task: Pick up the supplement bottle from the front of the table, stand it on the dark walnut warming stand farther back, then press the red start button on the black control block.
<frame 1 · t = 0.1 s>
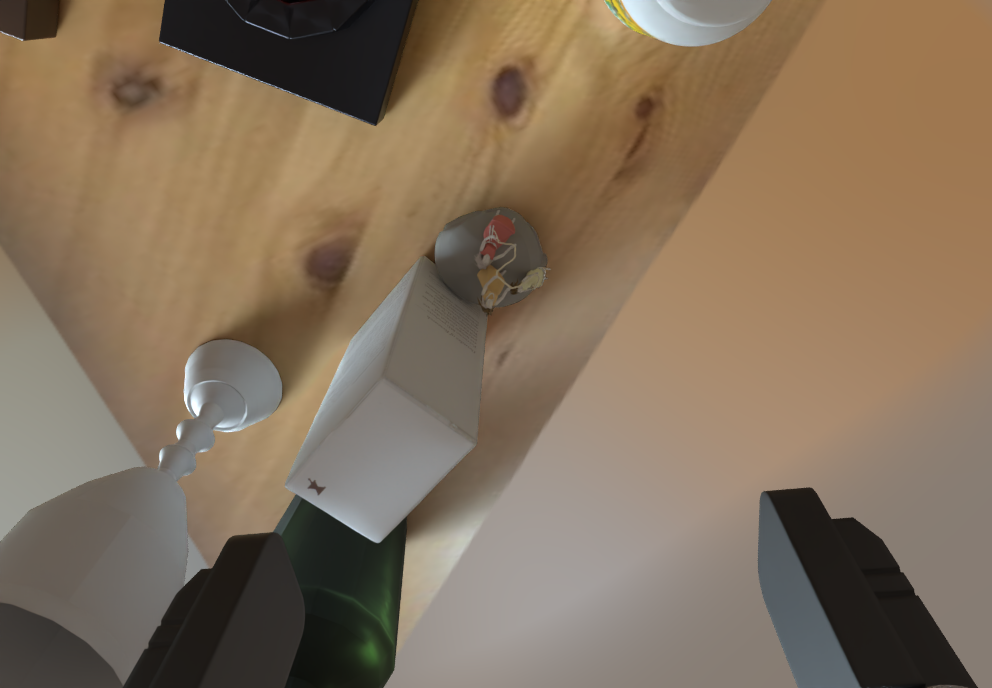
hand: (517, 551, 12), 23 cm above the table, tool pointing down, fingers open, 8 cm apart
potion bottle: (351, 511, 41), on the table
chalice: (235, 381, 37), on the table
cosmetic box: (422, 319, 35), on the table
figurine: (495, 243, 33), on the table
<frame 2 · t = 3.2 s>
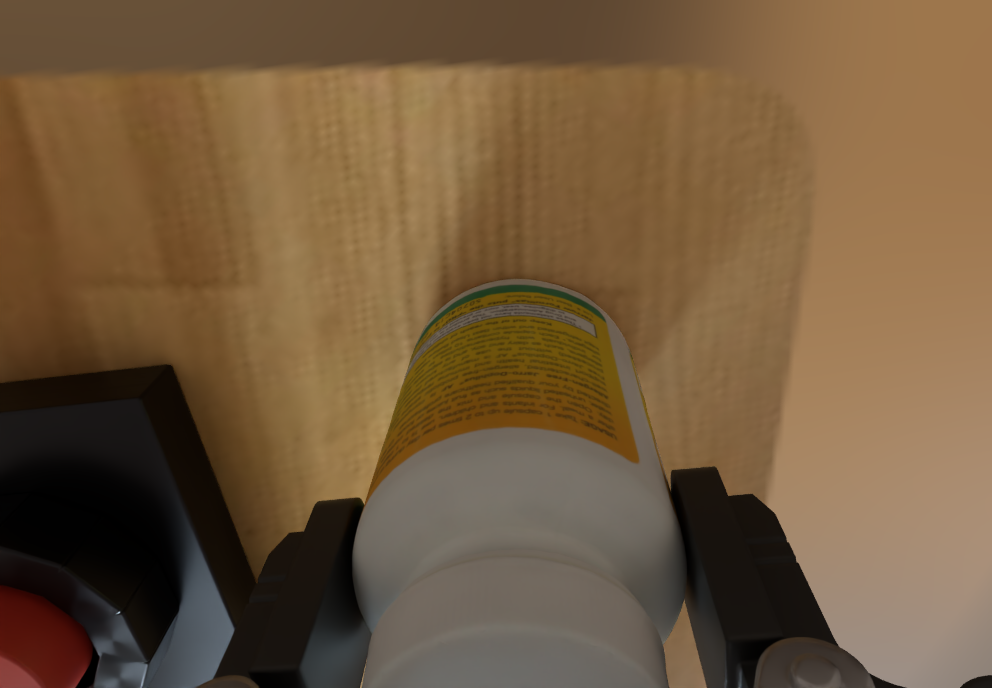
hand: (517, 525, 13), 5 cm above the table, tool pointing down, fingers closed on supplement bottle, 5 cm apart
supplement bottle: (520, 369, 18), on the table, touching gripper
button housing: (88, 546, 20), on the table
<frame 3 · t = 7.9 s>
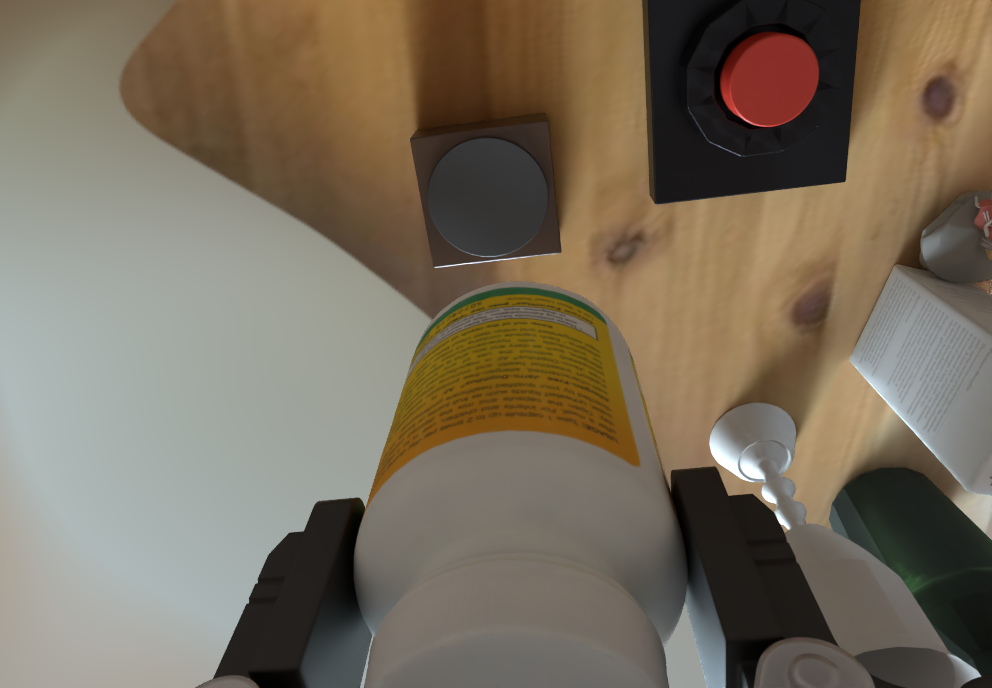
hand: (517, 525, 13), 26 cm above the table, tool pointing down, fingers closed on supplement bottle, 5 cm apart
potion bottle: (879, 504, 45), on the table
supplement bottle: (520, 371, 18), point 21 cm above the table, touching gripper
chalice: (751, 436, 43), on the table
start button: (767, 79, 30), point 4 cm above the table, slide at 0.1 cm
cosmetic box: (904, 317, 39), on the table
button housing: (742, 69, 33), on the table
figurine: (956, 224, 37), on the table
stand: (489, 186, 36), on the table
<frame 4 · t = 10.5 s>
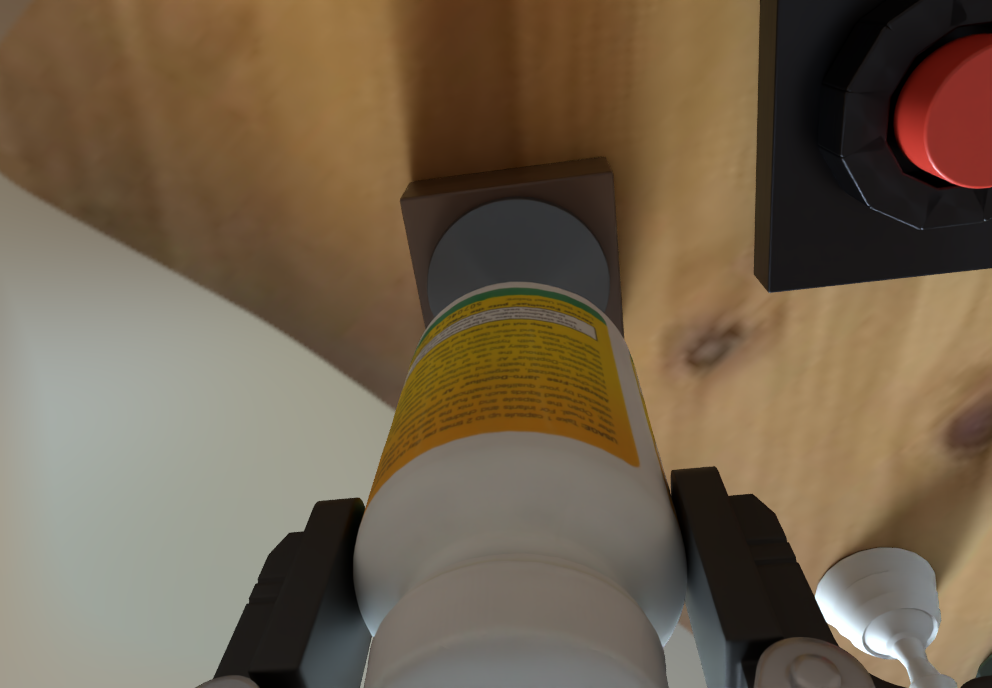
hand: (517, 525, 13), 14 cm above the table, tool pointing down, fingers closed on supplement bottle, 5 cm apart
supplement bottle: (520, 371, 18), point 8 cm above the table, touching gripper
chalice: (873, 588, 31), on the table
start button: (980, 111, 18), point 4 cm above the table, slide at 0.1 cm
button housing: (906, 91, 22), on the table
stand: (518, 261, 25), on the table
when the fingers open (8 cm above the table, at t = 12.4 s): supplement bottle stays where it is, resting on stand.
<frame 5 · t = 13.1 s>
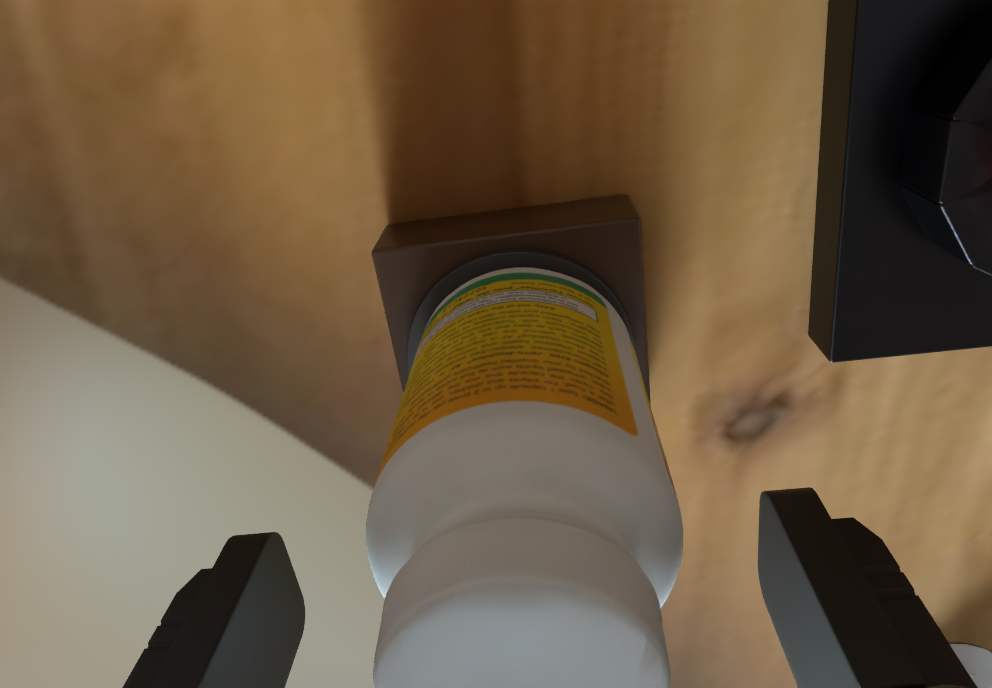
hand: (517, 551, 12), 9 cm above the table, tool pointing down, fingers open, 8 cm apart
supplement bottle: (524, 355, 18), point 2 cm above the table, touching stand
chalice: (934, 686, 27), on the table
stand: (520, 319, 20), on the table
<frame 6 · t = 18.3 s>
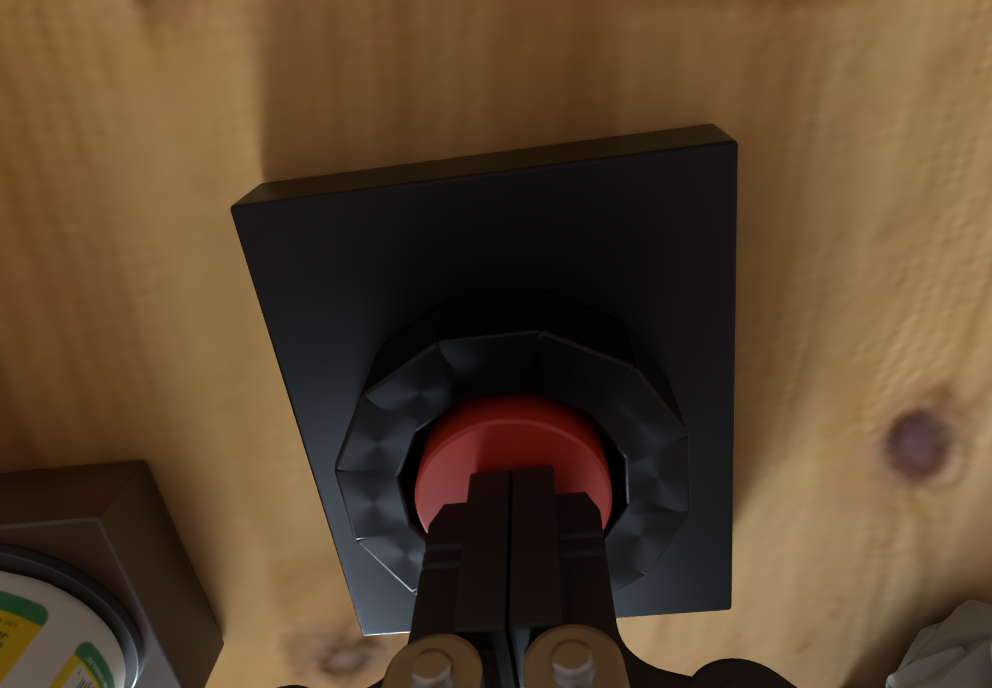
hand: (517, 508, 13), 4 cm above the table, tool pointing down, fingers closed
supplement bottle: (24, 635, 17), point 2 cm above the table, touching stand
start button: (513, 474, 14), point 3 cm above the table, slide at -0.9 cm, touching gripper
button housing: (515, 394, 16), on the table
figurine: (955, 631, 20), on the table
stand: (74, 567, 19), on the table
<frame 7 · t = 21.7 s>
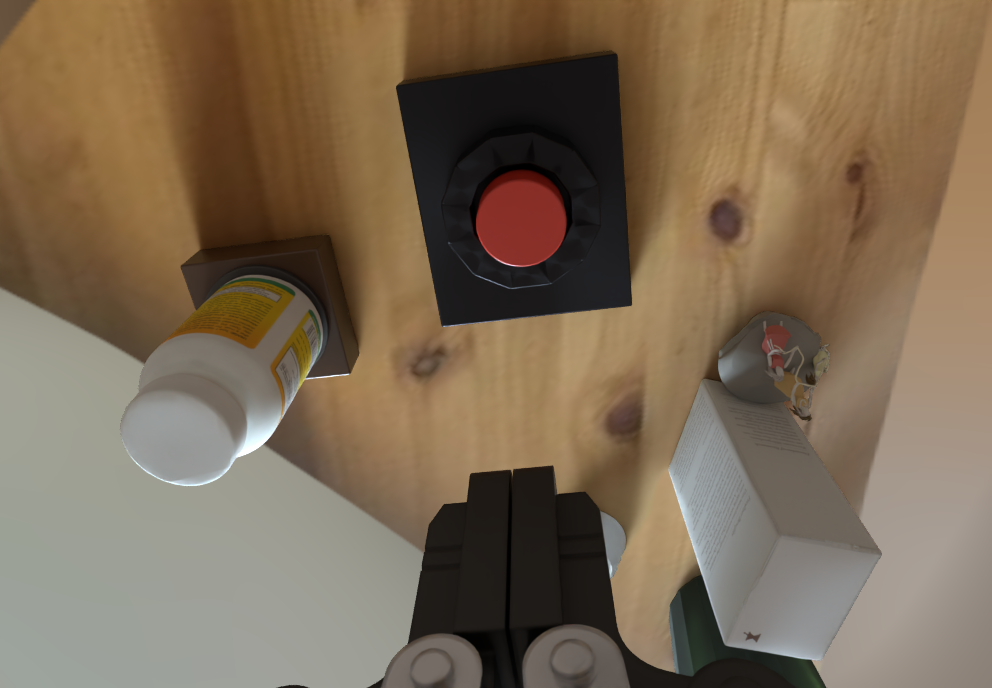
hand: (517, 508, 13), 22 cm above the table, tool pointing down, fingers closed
potion bottle: (720, 604, 44), on the table
supplement bottle: (269, 322, 33), point 2 cm above the table, touching stand
chalice: (582, 540, 42), on the table
start button: (521, 218, 29), point 4 cm above the table, slide at 0.1 cm
cosmetic box: (721, 427, 38), on the table
button housing: (521, 192, 33), on the table
figurine: (761, 340, 36), on the table
stand: (282, 303, 35), on the table
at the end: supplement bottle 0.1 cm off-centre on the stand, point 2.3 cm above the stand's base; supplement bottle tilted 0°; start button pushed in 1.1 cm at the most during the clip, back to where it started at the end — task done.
